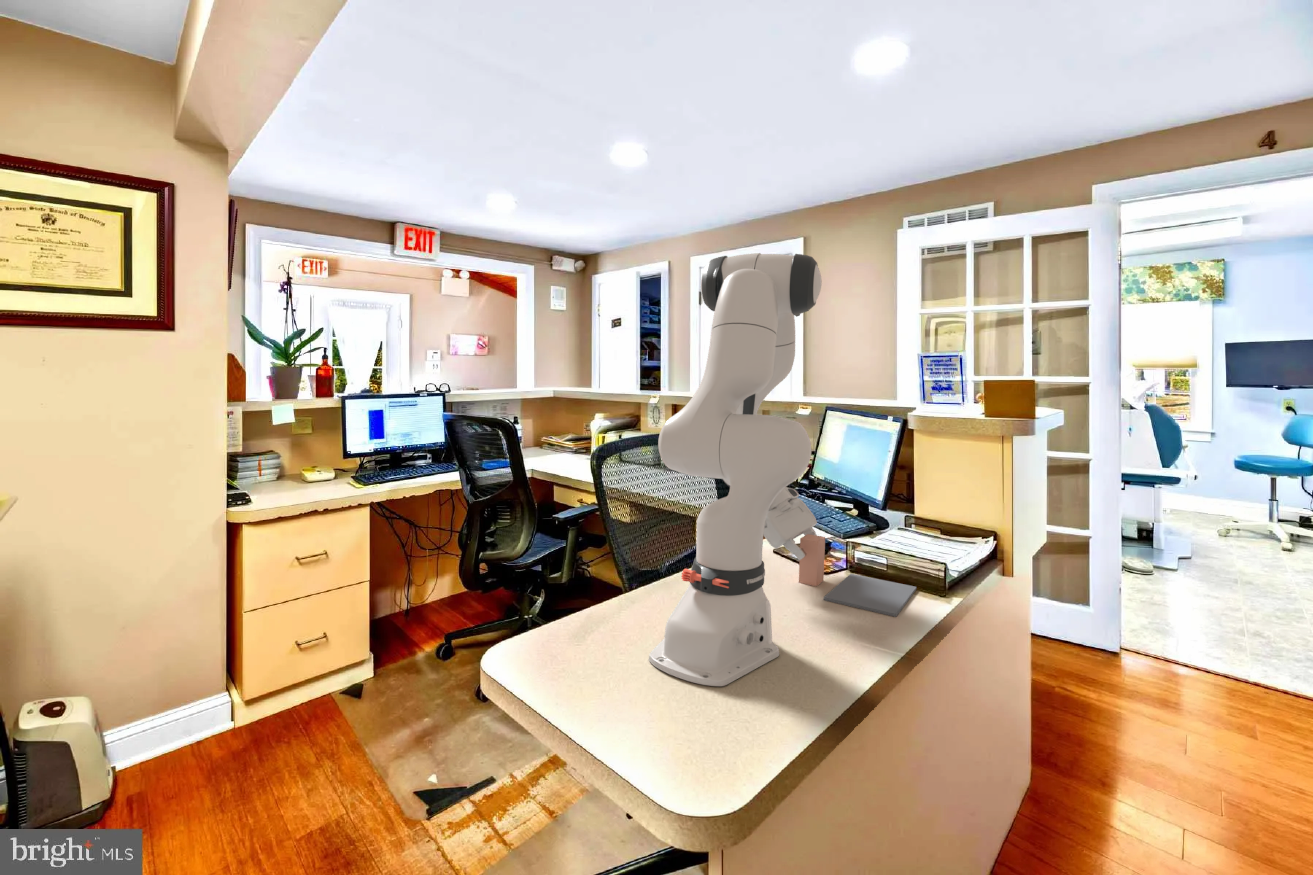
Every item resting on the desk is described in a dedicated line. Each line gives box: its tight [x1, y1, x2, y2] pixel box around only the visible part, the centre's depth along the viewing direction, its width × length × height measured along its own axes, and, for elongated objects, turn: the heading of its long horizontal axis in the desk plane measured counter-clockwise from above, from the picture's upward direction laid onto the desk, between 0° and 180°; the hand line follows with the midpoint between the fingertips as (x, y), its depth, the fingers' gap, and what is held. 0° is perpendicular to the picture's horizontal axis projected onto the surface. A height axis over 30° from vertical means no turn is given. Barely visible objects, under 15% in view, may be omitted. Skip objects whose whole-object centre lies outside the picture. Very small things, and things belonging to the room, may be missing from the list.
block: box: [798, 534, 826, 587], centre depth 126 cm, size 4×4×10 cm
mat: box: [823, 573, 917, 618], centre depth 119 cm, size 18×14×1 cm
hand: (811, 552), depth 126 cm, fingers open, 8 cm apart
